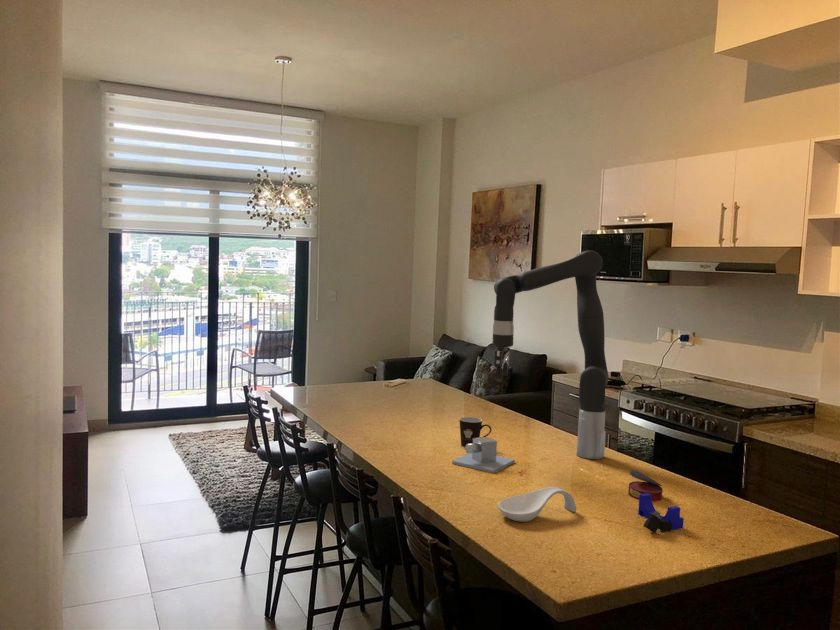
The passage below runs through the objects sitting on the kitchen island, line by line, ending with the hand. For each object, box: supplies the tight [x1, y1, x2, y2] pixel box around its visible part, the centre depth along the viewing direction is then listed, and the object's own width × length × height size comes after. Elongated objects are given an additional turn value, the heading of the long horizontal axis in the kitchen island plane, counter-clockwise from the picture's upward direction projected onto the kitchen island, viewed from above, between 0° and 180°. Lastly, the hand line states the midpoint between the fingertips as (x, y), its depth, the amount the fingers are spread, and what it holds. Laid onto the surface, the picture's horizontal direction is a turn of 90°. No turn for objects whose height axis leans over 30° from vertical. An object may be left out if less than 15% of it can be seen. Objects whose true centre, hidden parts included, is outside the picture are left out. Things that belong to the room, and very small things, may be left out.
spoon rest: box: [497, 486, 577, 523], centre depth 185 cm, size 24×12×7 cm, turn 117°
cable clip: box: [637, 493, 684, 531], centre depth 184 cm, size 12×4×6 cm, turn 25°
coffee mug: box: [458, 416, 492, 448], centre depth 251 cm, size 12×9×10 cm
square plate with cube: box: [451, 453, 516, 474], centre depth 231 cm, size 16×16×6 cm
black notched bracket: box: [642, 510, 673, 534], centre depth 176 cm, size 8×2×5 cm
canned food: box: [627, 469, 664, 502], centre depth 204 cm, size 11×10×10 cm
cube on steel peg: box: [464, 436, 498, 463], centre depth 230 cm, size 10×6×7 cm, turn 117°
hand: (501, 377), depth 244 cm, fingers open, 8 cm apart
